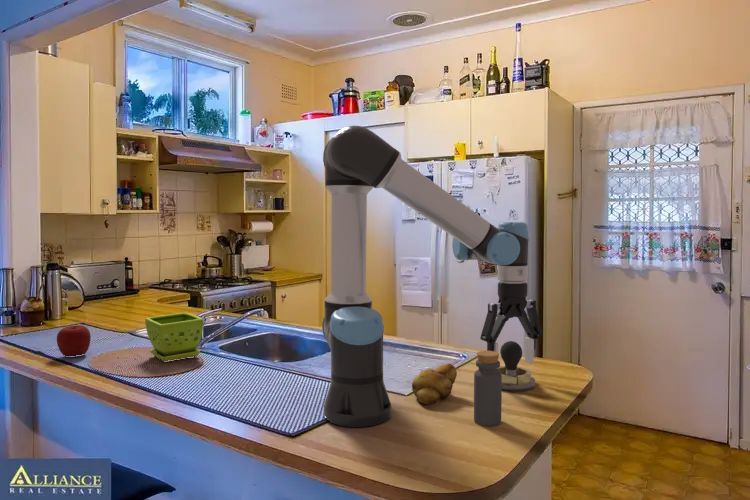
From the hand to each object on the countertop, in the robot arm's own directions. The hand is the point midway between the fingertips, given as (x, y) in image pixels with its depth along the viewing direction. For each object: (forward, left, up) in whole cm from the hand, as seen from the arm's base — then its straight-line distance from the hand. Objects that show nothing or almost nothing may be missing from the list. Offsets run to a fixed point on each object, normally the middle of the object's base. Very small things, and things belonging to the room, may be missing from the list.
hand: (511, 364), depth 144 cm
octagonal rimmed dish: (0, 0, -5) cm, 5 cm away
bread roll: (-24, 0, -5) cm, 25 cm away
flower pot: (-78, +67, -5) cm, 103 cm away
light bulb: (0, 0, -4) cm, 4 cm away
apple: (-107, +82, -5) cm, 135 cm away
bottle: (-21, -19, -5) cm, 28 cm away
